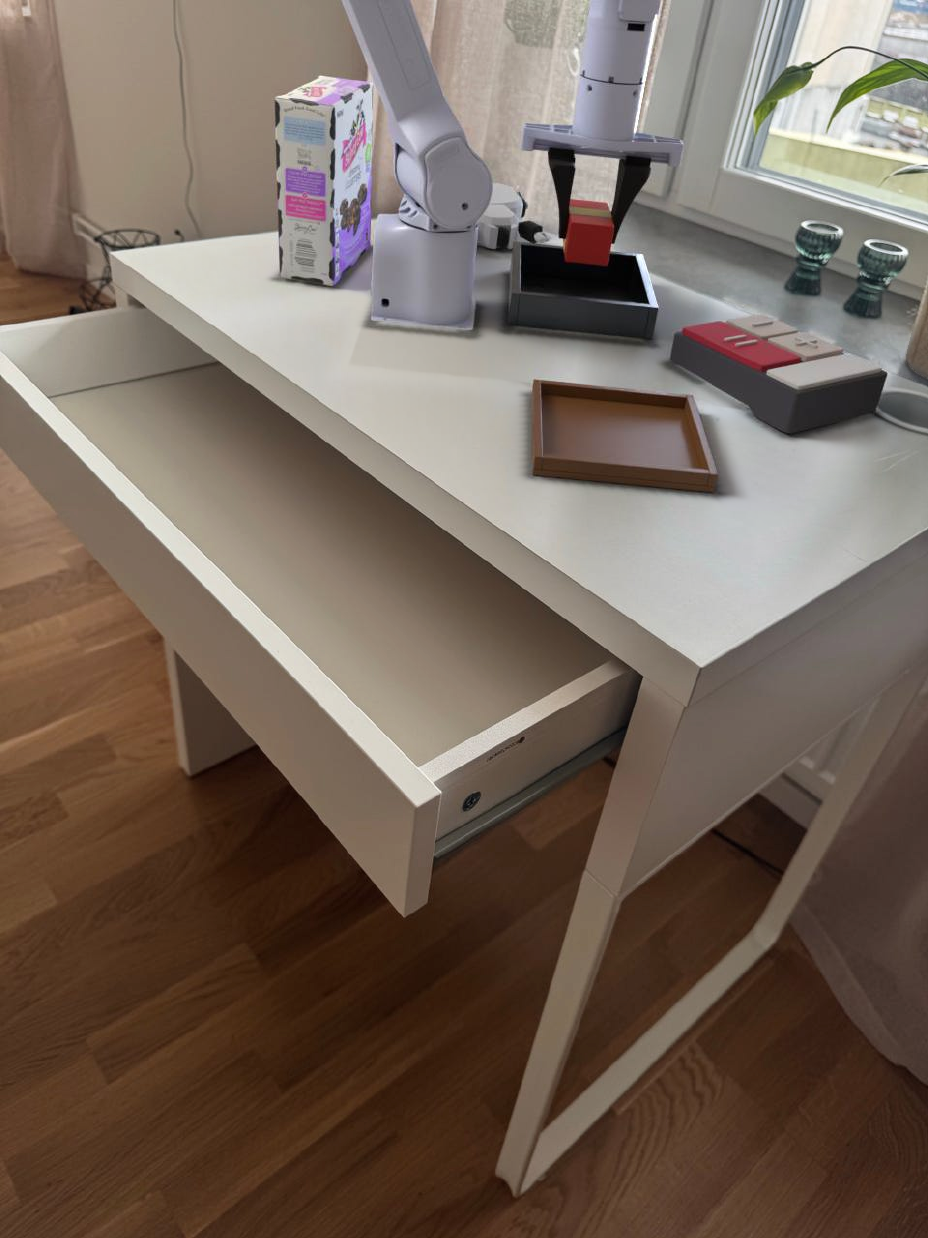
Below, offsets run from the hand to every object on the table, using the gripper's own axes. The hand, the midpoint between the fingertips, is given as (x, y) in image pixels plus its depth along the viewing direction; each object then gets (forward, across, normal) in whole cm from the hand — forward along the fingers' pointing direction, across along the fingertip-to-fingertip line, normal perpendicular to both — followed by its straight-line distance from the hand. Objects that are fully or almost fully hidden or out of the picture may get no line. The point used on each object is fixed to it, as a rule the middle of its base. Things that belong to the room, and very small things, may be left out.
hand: (586, 238), depth 92 cm
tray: (+7, -2, +28) cm, 29 cm away
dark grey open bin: (+7, 0, 0) cm, 7 cm away
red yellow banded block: (+1, 0, 0) cm, 1 cm away
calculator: (+7, -16, +15) cm, 23 cm away
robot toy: (+7, +10, -20) cm, 24 cm away
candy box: (+7, +26, -6) cm, 28 cm away
